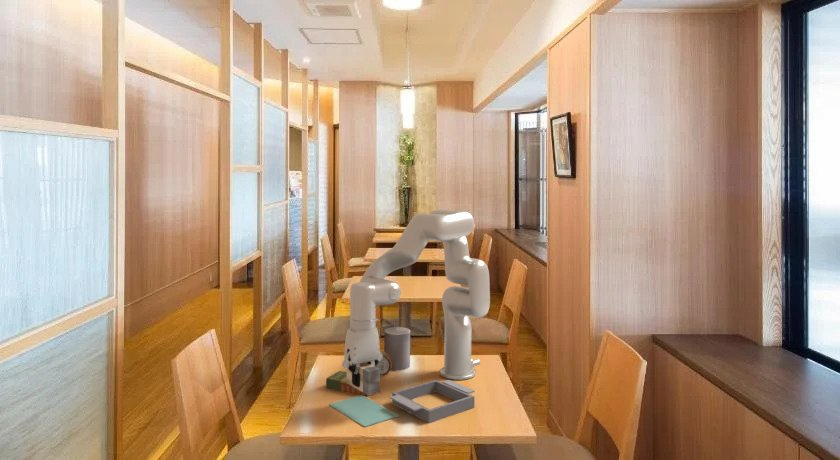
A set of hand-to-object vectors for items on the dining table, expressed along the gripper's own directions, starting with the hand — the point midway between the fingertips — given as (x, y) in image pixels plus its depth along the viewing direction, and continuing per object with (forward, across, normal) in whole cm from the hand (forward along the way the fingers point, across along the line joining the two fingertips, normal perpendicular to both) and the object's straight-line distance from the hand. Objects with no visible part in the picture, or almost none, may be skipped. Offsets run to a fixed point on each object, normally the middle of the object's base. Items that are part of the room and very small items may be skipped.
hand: (362, 383), depth 171 cm
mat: (+8, 0, 0) cm, 8 cm away
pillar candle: (+8, -32, -26) cm, 42 cm away
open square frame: (+8, -19, +10) cm, 23 cm away
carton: (+9, -7, -17) cm, 21 cm away
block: (+1, 0, 0) cm, 1 cm away
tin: (+9, -20, -25) cm, 33 cm away
